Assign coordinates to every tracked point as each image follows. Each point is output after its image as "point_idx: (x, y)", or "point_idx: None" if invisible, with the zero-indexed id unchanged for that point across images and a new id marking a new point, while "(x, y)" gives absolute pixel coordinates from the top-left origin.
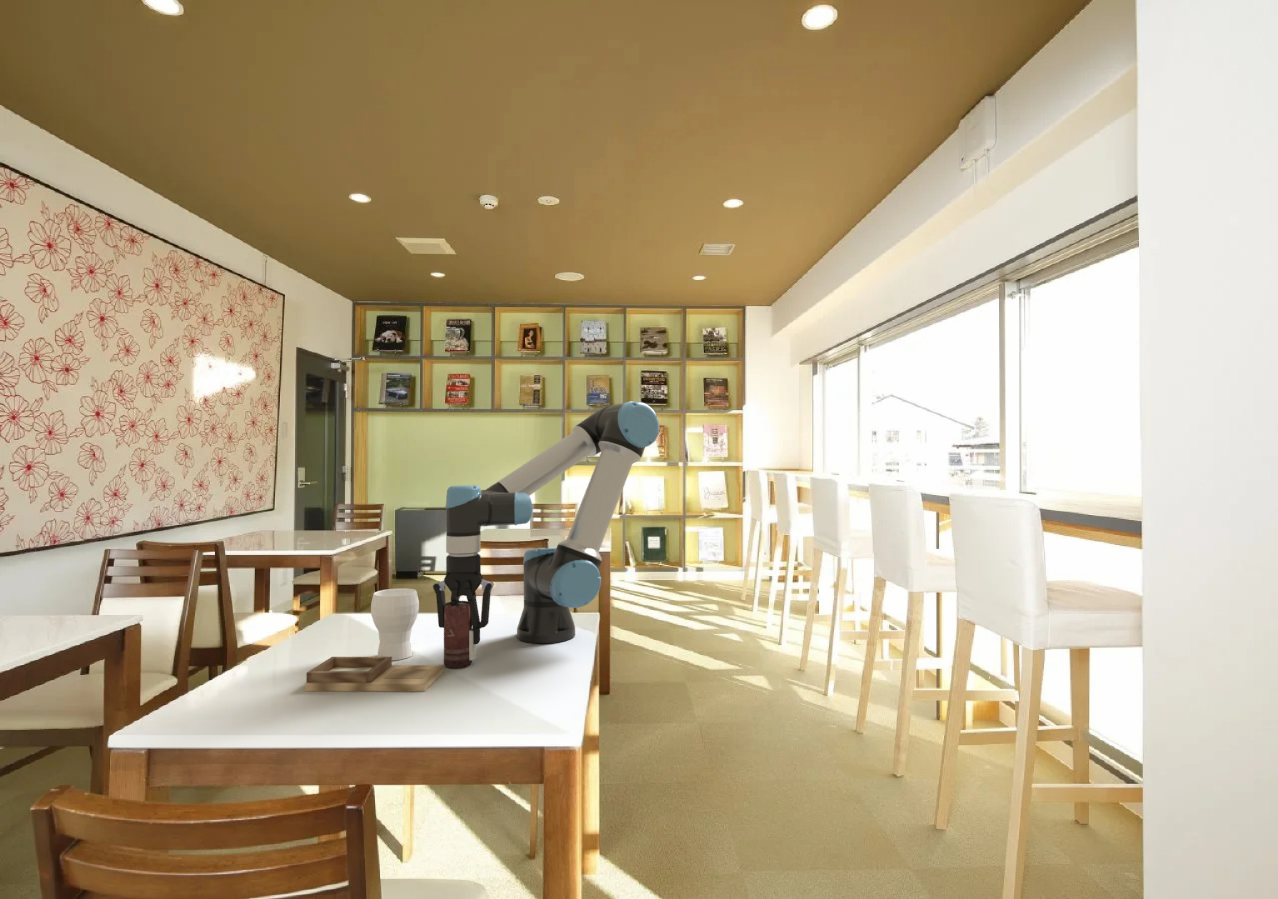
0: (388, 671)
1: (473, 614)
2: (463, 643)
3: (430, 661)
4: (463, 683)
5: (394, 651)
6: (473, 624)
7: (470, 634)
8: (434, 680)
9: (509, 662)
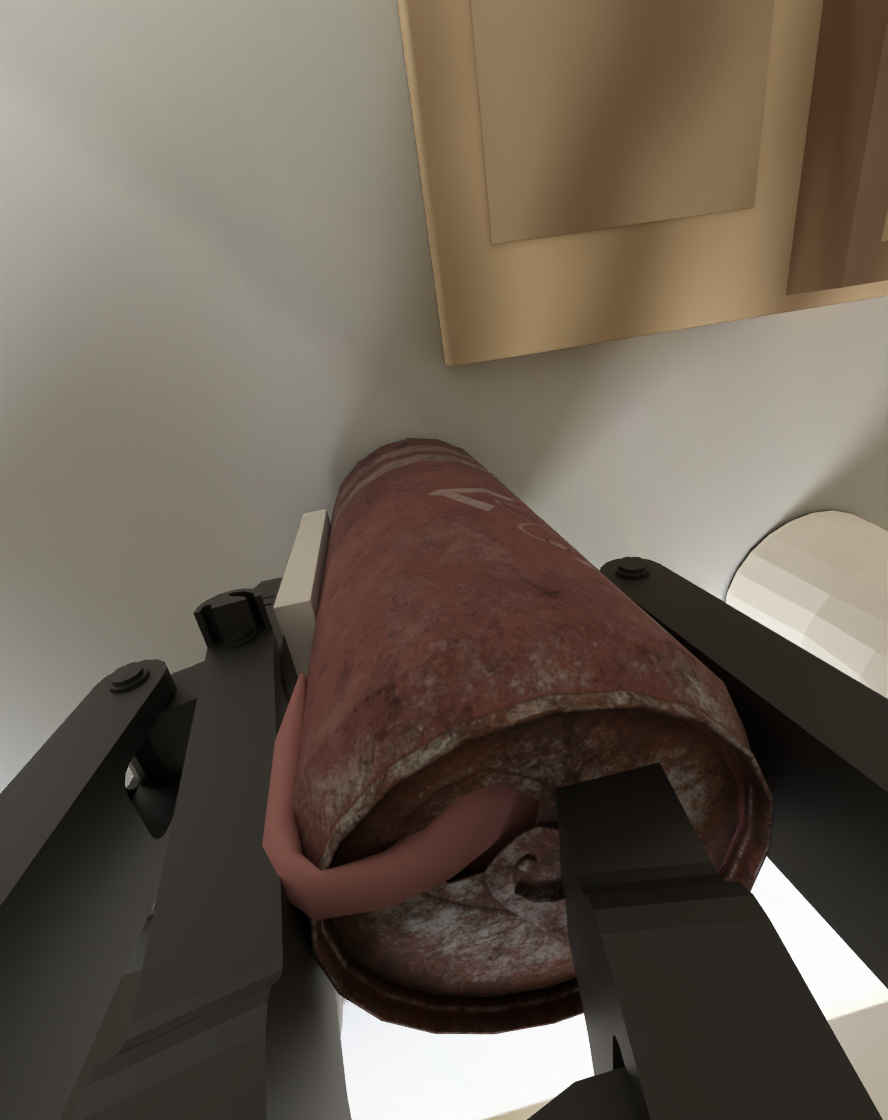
0: (781, 148)
1: (225, 748)
2: (351, 512)
3: (599, 552)
4: (166, 111)
5: (830, 544)
6: (253, 655)
7: (299, 586)
8: (416, 140)
9: (130, 630)
